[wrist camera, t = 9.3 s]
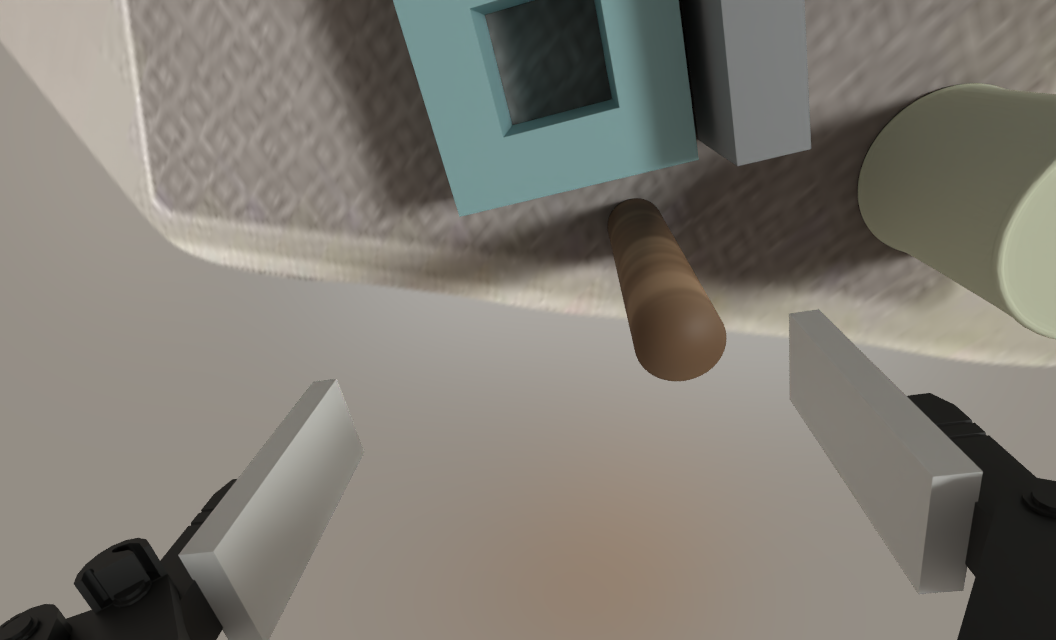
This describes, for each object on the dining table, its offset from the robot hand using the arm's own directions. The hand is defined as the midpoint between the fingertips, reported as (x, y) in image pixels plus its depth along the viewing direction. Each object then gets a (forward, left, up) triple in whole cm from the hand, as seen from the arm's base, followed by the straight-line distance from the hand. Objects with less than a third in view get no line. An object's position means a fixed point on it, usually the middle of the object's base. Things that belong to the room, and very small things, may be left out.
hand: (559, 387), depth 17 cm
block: (-8, +1, -19) cm, 21 cm away
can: (+3, +21, -19) cm, 29 cm away
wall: (-8, +10, -19) cm, 23 cm away
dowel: (+2, +4, -19) cm, 19 cm away
